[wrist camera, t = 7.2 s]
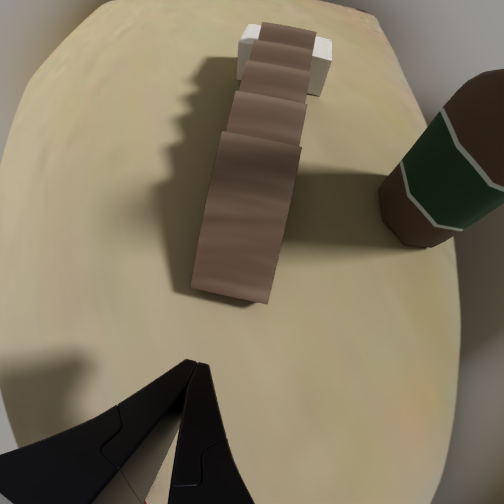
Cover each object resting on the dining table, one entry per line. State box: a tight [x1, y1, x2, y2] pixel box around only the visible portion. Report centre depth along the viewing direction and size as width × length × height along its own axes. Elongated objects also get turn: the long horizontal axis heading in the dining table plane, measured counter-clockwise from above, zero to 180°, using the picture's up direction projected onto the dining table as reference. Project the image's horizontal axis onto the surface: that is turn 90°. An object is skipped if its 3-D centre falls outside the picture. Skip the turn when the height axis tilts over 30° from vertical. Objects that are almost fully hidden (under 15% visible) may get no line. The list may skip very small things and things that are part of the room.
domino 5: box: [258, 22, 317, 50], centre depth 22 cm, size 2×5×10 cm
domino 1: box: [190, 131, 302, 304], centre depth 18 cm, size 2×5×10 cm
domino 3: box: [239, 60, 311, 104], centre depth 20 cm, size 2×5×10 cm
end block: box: [237, 24, 332, 96], centre depth 25 cm, size 5×9×5 cm, turn 79°
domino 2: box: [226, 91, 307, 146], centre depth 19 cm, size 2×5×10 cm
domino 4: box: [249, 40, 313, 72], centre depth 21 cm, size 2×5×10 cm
